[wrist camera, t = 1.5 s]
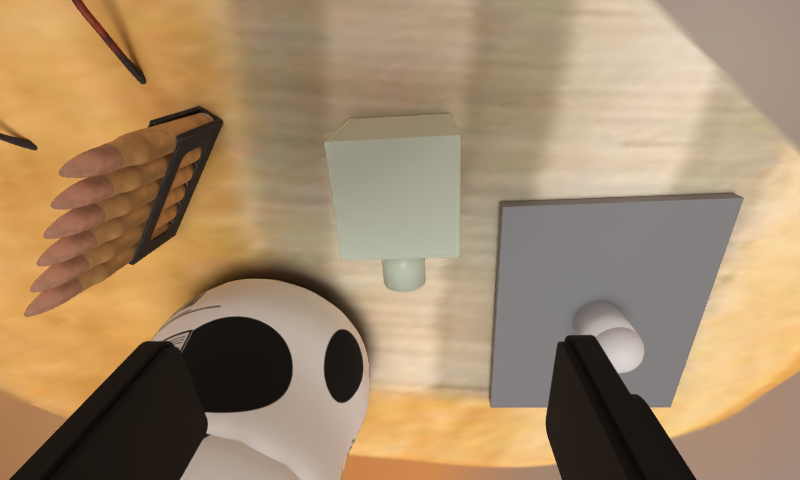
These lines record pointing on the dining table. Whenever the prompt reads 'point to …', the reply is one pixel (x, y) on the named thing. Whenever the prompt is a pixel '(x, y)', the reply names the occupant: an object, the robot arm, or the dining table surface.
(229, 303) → the milk container
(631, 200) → the board
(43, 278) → the ammunition clip
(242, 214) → the dining table surface
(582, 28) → the dining table surface
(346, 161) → the block with round peg
